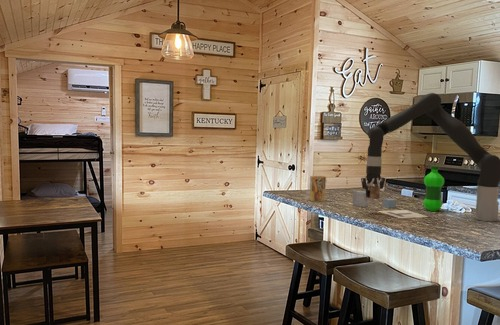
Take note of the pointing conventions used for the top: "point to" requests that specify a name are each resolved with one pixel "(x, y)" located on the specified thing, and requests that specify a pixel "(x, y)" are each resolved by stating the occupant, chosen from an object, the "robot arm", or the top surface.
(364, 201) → the medicine box
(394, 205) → the slate cube
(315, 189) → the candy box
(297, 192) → the top surface
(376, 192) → the walnut block
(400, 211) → the board
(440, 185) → the plastic bottle
